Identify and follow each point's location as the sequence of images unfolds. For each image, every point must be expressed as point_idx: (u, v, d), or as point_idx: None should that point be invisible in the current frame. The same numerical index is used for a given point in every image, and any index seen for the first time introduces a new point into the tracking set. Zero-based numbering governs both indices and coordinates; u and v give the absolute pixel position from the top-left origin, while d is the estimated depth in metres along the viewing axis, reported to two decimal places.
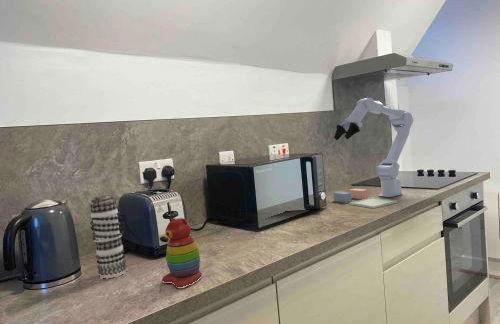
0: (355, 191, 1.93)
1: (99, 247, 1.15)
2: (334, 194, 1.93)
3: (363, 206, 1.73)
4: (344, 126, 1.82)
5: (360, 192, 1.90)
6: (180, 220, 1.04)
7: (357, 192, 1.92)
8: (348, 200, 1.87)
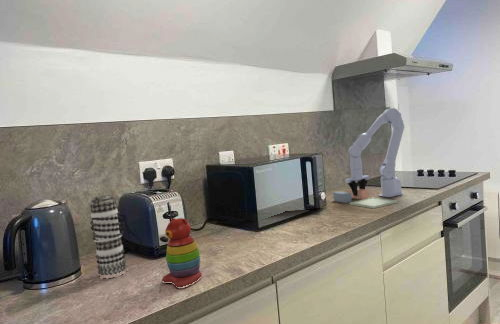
0: None
1: (99, 247, 1.15)
2: (334, 194, 1.93)
3: (363, 206, 1.73)
4: (361, 179, 1.95)
5: (360, 192, 1.90)
6: (180, 220, 1.04)
7: (357, 192, 1.92)
8: (348, 199, 1.87)
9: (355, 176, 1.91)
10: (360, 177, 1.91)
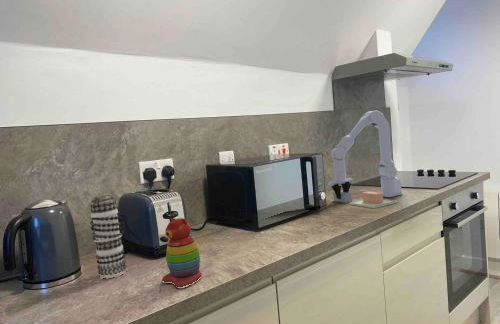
0: (369, 194, 1.76)
1: (99, 247, 1.15)
2: (334, 193, 1.93)
3: (363, 206, 1.73)
4: (345, 181, 1.92)
5: (374, 195, 1.73)
6: (180, 220, 1.04)
7: (371, 195, 1.75)
8: (348, 199, 1.87)
9: (338, 179, 1.88)
10: (343, 180, 1.88)
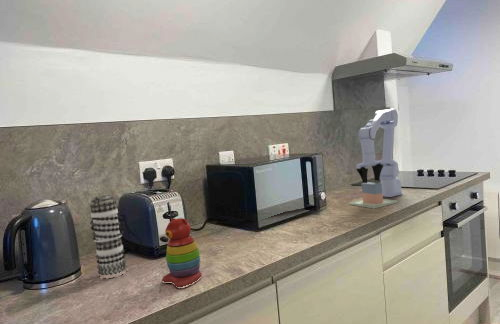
0: (369, 194, 1.76)
1: (99, 247, 1.15)
2: (362, 185, 1.79)
3: (363, 206, 1.73)
4: (374, 164, 1.78)
5: (374, 195, 1.73)
6: (180, 220, 1.04)
7: (371, 195, 1.75)
8: (378, 190, 1.73)
9: (367, 161, 1.74)
10: (373, 162, 1.73)
